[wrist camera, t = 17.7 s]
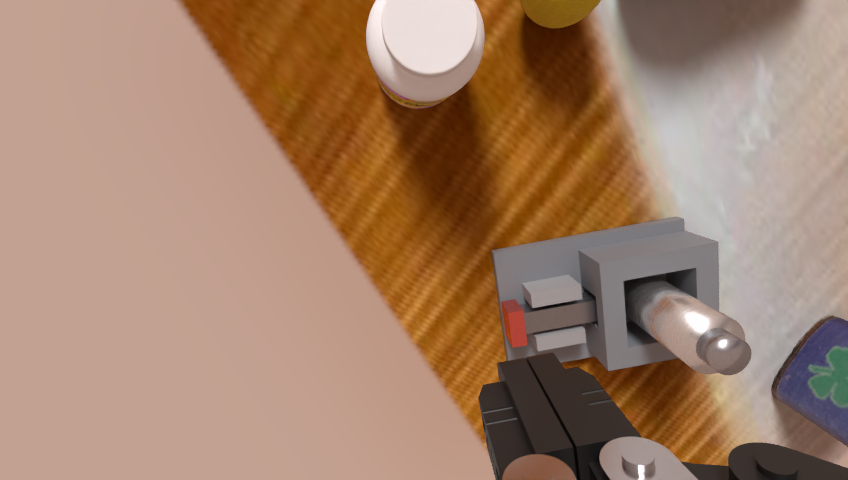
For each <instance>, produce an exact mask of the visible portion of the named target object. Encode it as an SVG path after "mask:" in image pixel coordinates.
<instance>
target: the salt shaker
mask: <svg viewBox="0 0 848 480" xmlns="http://www.w3.org/2000/svg"><path fill="white" fill-rule="evenodd" d="M623 283H624V297H625V312H626V316H627V317H628V318H630V319H631V320H632V321H633V322H635V323H636V324H637V325H638V326H640V327H641V328H642V329H643V330H645V331H646V332H647V333H648V334H650V335H651V336H652V337H653V338H655V339H656V340H657V341H658V342H660V343H661V344H662V345H663V346H665V347H666V348H667V349H668V350H670V351H671V352H672V353H673V354H675V355H676V356H677V357H678V358H680V359H681V360H682V361H683V362H685V363H686V364H687V365H688V366H690V367H691V368H692V369H693V370H695V371H697V372H699V373H703V374H714V373H718V372H719V373H720V374H723V375H733V374H736V373H738V372H740V371H742V370H743V369H744V368H745V367H746V366H747V364H748V363H749V361H750V358H751V349H750V346H749V345H748V344H747V343H746V342H745V334H744V331H743V329H742V327H741V325H740V324H739V323H738V322H737V321H735V320H734V319H732V318H730V317H728V316H727V315H725V314H723V313H721V312H719V311H718V310H716V309H714V308H712V307H710V306H709V305H707V304H705V303H703V302H701V301H700V300H698V299H696V298H694V297H692V296H690V295H689V294H687V293H685V292H683V291H681V290H680V289H678V288H676V287H674V286H672V285H671V284H669V283H667V282H665V281H663V280H662V279H660V278H658V277H656V276H654V275H653V276H647V277H642V278H636V279H631V280H625V281H623Z"/></svg>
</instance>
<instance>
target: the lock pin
mask: <svg viewBox="0 0 848 480" xmlns="http://www.w3.org/2000/svg"><path fill="white" fill-rule="evenodd" d="M501 305H502V312H503V319H504V326H505V333H506V336H507V338H508V340H509V342H510V344H511V346H512V347H513V348H515V347H520V346H526V345H528V344H527V336H526V334H529V333H534V332H540V331H545V330H551V329H556V328H562V327H567V326H573V325H578V324H584V323H589V322H594V321H598V318H597V306H596V296H594V295H593V294H592V293H591V292H586V293H582V299H580V300H574V301H569V302H564V303H558V304H553V305H547V306H542V307H536V308H532V307H531V306H530V304H529V303H526V304H520V305H519V304H518V302H517V301H516V299H513V300H508V301H502V302H501Z"/></svg>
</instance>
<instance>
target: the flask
mask: <svg viewBox="0 0 848 480" xmlns="http://www.w3.org/2000/svg"><path fill="white" fill-rule="evenodd" d="M774 379H775V380H774V383H773V385H772V389H771V390H772V392H773V394H774V395H775V396H776V397H777V398H778V399H779V400H780V401H782V402H783V403H785V404H787V405H788V406H790V407H791V408H792V409H794V410H795V411H797V412H799V413H800V414H801V415H803V416H804V417H805V418H807V419H808V420H810V421H811V422H813V423H815V424H816V425H817V426H819V427H820V428H822V429H823V430H825V431H826V432H828V433H829V434H830V435H832V436H833V437H835V438H836V439H838V440H839V441H840V442H842V443H843V444H845V445H846V446H848V321H846V320H844V319H841V318H838V317H834V316H829V315H827V316H826V317H824V318H821V320H820V321H818V322H817V323H816V324H814V326H813V327H812V328H811V329H810V330H809V331H808V332H807V333H806V334H805V336H804V337H802V338H801V340H800V341H799V342H798V344H797V346H795V348H794V350H793V352H792V354H791V355H790V356H789V357H788V358H787V360H786V362H785V363H784V364H783V366H782V368H781V369H780V371H779V373H778V374H777V375H776V377H775V378H774Z"/></svg>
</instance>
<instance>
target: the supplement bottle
mask: <svg viewBox="0 0 848 480" xmlns="http://www.w3.org/2000/svg"><path fill="white" fill-rule="evenodd" d="M484 40H485V35H484V25H483V20H482V17H481V14H480V11H479V9H478V7H477V5H476V3H475V1H474V0H376V1H375V3H374V5H373V7H372V9H371V12H370V15H369V19H368V23H367V30H366V42H367V50H368V54H369V58H370V61H371V64H372V66H373V69H374V71H375V74H376V77H377V80H378V82H379V84H380V86H381V87H382V89H383V90H384V92H385V93H386V94H387V95H388V96H389V97H390V98H391V99H392V100H394V101H395V102H397V103H398V104H400V105H402V106H405V107H409V108H416V109H421V108H428V107H432V106H434V105H437V104H439V103H440V102H442V101H444V100H445V99H447V98H448V97H449V96H451V95H452V94H454V93H455V92H457V91H458V90H460V89H461V88H462V87H463V86H464V85H465V84H466V83H467V82H468V81H469V80H470V79H471V77H472V76H473V74H474V73H475V71H476V69H477V67H478V65H479V62H480V60H481V57H482V53H483V48H484Z"/></svg>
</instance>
